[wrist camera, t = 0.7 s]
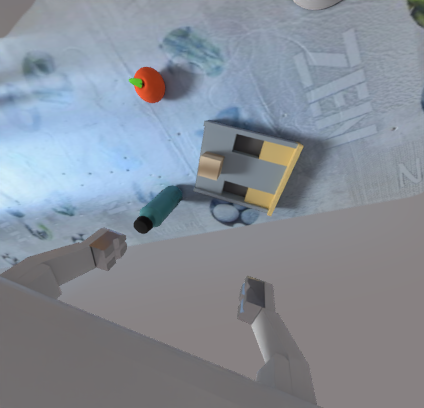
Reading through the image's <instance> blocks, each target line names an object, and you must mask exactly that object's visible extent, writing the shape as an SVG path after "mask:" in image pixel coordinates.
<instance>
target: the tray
mask: <svg viewBox="0 0 424 408" xmlns="http://www.w3.org/2000/svg"><path fill="white" fill-rule="evenodd" d="M204 126H205V127H204V134H203V140H202V146H201V153H200V157H201V155H202V154H204V153H205V152H206V151H207V152H211V153H214V154H218V155H222V156H225V157H224V161H223V166H222V170H221V174H220V176H219V177H218V179H217V181H216V180H213V179H209V178H206V177H202V176H199V175H198V172H197V178H196V185H195V188H194V192H198V193H201V194H204V195H208V196H211V197H214V198H218V199H221V200H225V201H228V202H231V203H235V204H238V205H241V206H245V207H248V208H251V209H255V210H258V211H262V212H265V213H267V215H269V216H271V215H272V213H273V211H274V209H275V206H276V204H277V202H278V200H279V198H280V196H281V194H282V192H283V189H284V187H285V185H286V183H287V181H288V179H289V177H290V175H291V172H292V170H293V168H294V166H295V164H296V162H297V160H298V157H299V155H300V153H301V151H302V149H303V147H304V146H303V145H302V144H301V143H299V142H296V141H291V140H287V139H283V138H279V137H275V136H271V135H267V134H263V133H259V132H255V131H251V130H246V129H242V128H238V127H234V126H230V125H226V124H222V123H218V122H214V121H210V120H208V121H204ZM199 163H200V159H199ZM198 169H199V166H198Z"/></svg>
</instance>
